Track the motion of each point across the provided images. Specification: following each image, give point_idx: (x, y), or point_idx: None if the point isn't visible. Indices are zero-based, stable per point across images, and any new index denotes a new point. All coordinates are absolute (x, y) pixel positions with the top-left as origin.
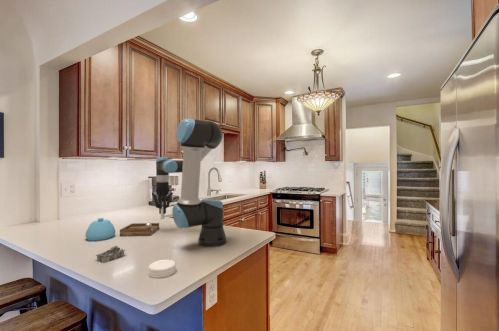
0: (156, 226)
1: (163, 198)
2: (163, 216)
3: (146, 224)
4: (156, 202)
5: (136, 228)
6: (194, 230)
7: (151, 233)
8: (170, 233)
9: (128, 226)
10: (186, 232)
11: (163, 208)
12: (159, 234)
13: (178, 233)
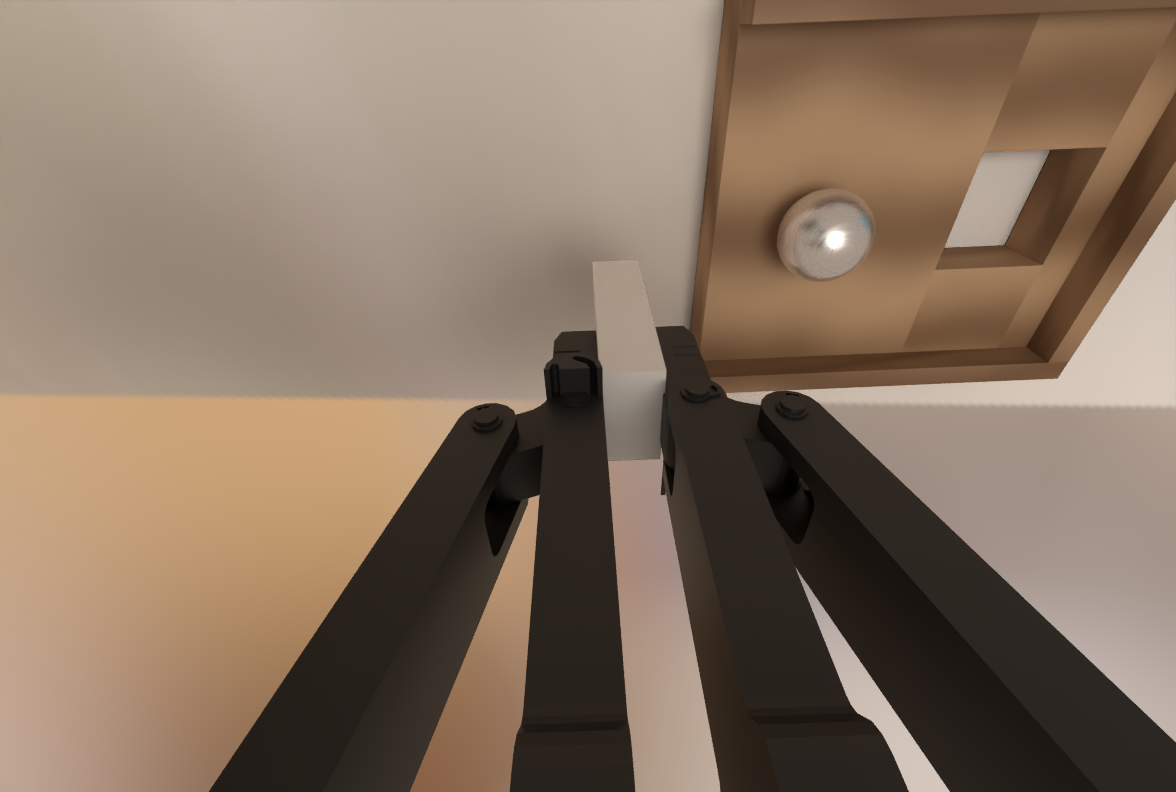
0: (717, 324)
1: (605, 698)
2: (594, 303)
3: (865, 212)
4: (874, 514)
5: (973, 264)
6: (220, 288)
7: (724, 57)
8: (465, 141)
9: (1116, 242)
10: (262, 191)
11: (580, 362)
12: (606, 85)
13: (346, 138)
